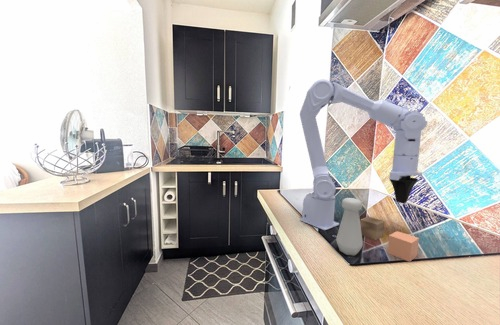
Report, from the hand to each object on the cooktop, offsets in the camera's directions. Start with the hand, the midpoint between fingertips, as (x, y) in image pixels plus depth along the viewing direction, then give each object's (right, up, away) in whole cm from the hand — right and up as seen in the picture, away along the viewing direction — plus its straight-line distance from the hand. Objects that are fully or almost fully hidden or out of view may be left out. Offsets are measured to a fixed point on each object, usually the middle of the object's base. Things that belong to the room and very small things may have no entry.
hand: (401, 202), depth 60 cm
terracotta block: (-7, -11, -10) cm, 17 cm away
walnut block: (-9, -10, 0) cm, 13 cm away
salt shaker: (-20, -10, -9) cm, 24 cm away
